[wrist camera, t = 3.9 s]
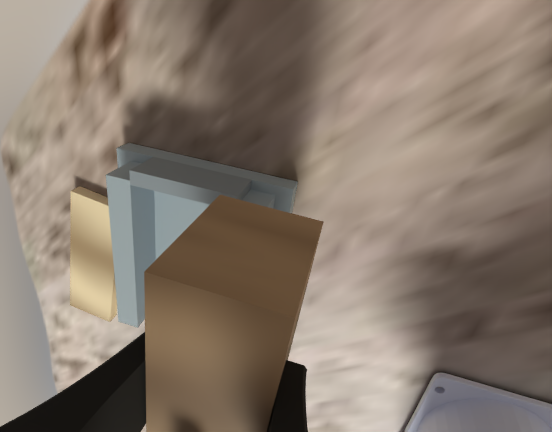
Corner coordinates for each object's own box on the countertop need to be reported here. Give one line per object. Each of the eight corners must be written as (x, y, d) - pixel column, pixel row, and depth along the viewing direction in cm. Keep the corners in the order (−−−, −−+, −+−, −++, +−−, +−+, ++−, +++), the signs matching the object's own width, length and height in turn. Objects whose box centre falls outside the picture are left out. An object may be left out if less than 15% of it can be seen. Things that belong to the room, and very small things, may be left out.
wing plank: (120, 310, 26) (110, 321, 25) (82, 294, 26) (70, 305, 25) (131, 201, 21) (119, 210, 20) (85, 183, 21) (70, 191, 20)
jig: (269, 331, 22) (255, 371, 20) (136, 291, 24) (106, 324, 21) (297, 181, 18) (284, 207, 15) (128, 142, 19) (88, 160, 16)
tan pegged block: (280, 384, 15) (227, 578, 10) (203, 359, 16) (112, 529, 10) (323, 222, 12) (274, 389, 6) (219, 194, 12) (88, 328, 7)
